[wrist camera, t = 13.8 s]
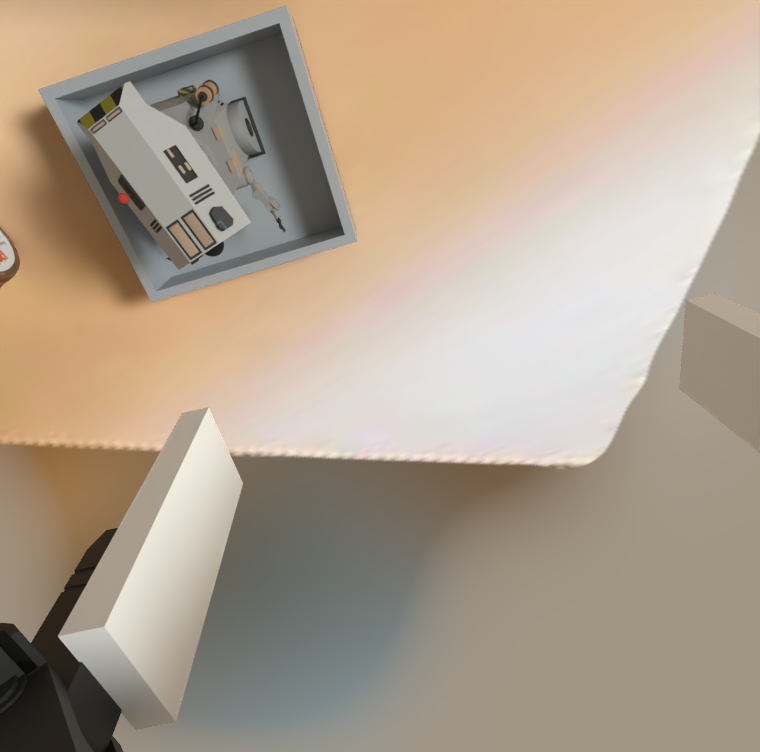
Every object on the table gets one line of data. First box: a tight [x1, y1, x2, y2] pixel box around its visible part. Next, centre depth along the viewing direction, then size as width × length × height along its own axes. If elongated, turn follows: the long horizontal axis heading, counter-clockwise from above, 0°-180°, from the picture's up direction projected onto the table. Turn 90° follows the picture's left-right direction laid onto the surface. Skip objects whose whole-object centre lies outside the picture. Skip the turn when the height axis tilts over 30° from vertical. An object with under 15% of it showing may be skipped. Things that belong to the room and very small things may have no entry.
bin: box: [38, 6, 357, 302], centre depth 40 cm, size 17×19×5 cm
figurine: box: [77, 80, 286, 270], centre depth 35 cm, size 9×12×15 cm
